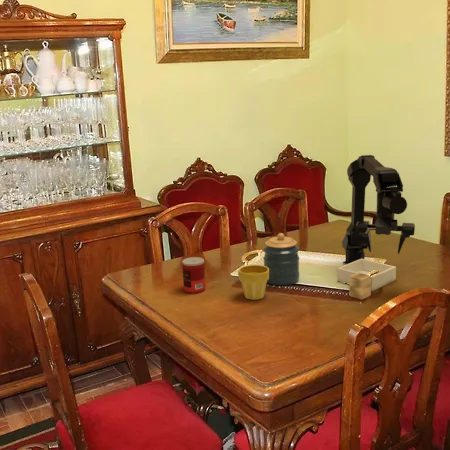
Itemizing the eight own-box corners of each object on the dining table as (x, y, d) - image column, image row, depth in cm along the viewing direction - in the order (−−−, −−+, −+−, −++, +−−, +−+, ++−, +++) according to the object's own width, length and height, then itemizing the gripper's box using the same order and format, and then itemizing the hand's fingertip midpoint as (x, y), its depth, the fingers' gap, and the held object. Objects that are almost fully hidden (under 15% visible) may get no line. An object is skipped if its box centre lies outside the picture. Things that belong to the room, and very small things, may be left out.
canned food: (208, 286, 210) (207, 257, 207) (200, 294, 203) (199, 264, 200) (189, 285, 213) (187, 256, 210) (180, 293, 205) (178, 263, 203)
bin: (337, 281, 210) (337, 268, 209) (361, 271, 219) (361, 258, 218) (371, 291, 199) (372, 277, 198) (395, 280, 209) (396, 266, 207)
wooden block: (349, 296, 196) (349, 276, 195) (358, 291, 200) (358, 272, 198) (361, 299, 193) (362, 279, 191) (370, 295, 196) (371, 275, 194)
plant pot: (253, 288, 207) (252, 262, 204) (275, 295, 200) (275, 268, 197) (233, 297, 200) (231, 269, 197) (255, 304, 193) (254, 276, 190)
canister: (306, 278, 214) (306, 232, 210) (285, 288, 205) (284, 240, 201) (278, 271, 223) (277, 226, 218) (256, 280, 214) (255, 234, 209)
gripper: (353, 211, 188) (352, 258, 192) (413, 214, 182) (412, 262, 186) (358, 204, 199) (357, 248, 202) (415, 206, 192) (414, 251, 196)
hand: (384, 252), depth 196 cm, fingers open, 9 cm apart
